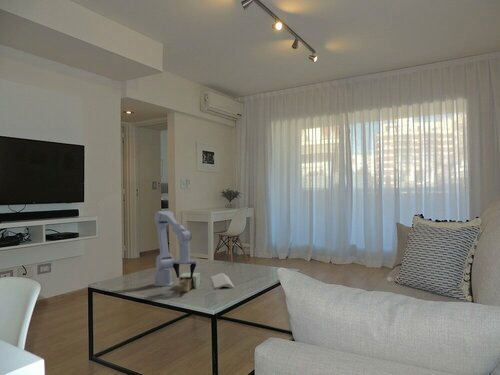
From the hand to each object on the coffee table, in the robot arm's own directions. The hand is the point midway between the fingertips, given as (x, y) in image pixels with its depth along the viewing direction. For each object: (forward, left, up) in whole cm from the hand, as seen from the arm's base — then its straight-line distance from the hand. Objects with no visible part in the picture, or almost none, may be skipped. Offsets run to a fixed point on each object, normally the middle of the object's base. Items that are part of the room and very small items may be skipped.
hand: (184, 277), depth 197 cm
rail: (0, +3, -8) cm, 8 cm away
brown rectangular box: (0, +4, -8) cm, 8 cm away
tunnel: (0, +11, -8) cm, 13 cm away
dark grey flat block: (0, +20, -8) cm, 21 cm away
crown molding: (+17, +21, -9) cm, 28 cm away
